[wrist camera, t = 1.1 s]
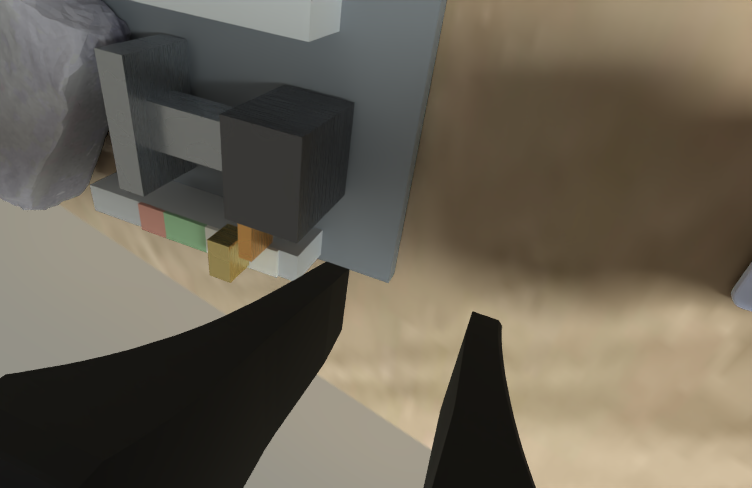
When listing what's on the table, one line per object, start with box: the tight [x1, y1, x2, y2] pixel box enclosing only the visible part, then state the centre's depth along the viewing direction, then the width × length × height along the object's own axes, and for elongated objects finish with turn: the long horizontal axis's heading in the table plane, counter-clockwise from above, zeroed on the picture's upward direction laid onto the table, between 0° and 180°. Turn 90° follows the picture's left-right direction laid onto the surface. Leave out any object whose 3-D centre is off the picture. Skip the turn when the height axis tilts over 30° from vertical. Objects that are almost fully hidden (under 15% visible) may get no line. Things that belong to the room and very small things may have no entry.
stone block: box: [0, 0, 131, 210], centre depth 23 cm, size 12×5×10 cm
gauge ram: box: [94, 34, 355, 262], centre depth 19 cm, size 9×7×4 cm
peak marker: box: [207, 224, 249, 283], centre depth 20 cm, size 1×2×1 cm, turn 172°
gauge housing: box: [90, 0, 447, 283], centre depth 20 cm, size 15×12×3 cm
